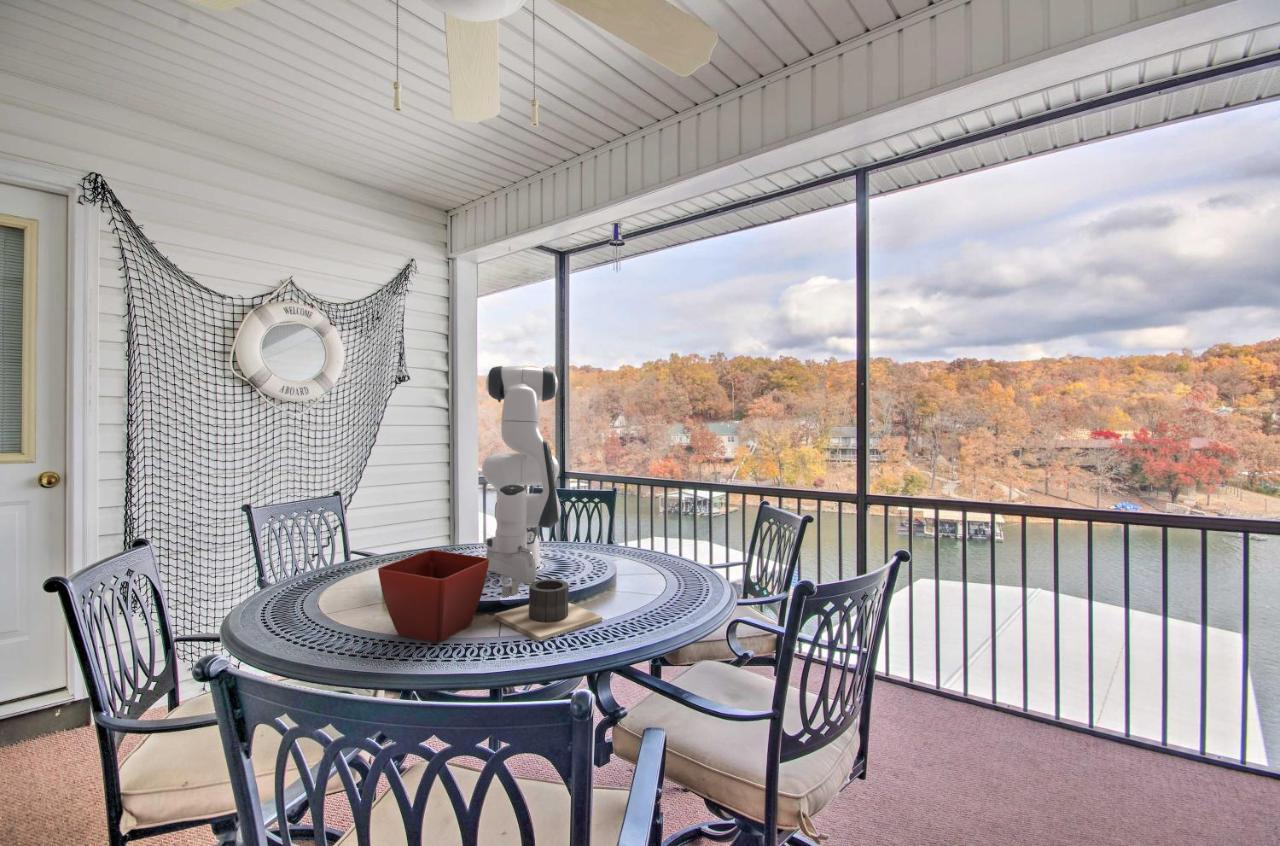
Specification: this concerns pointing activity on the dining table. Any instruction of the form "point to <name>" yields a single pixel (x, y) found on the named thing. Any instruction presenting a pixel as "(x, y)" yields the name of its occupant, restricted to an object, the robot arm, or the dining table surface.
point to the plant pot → (433, 593)
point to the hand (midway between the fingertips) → (510, 591)
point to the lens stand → (547, 612)
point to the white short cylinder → (507, 591)
